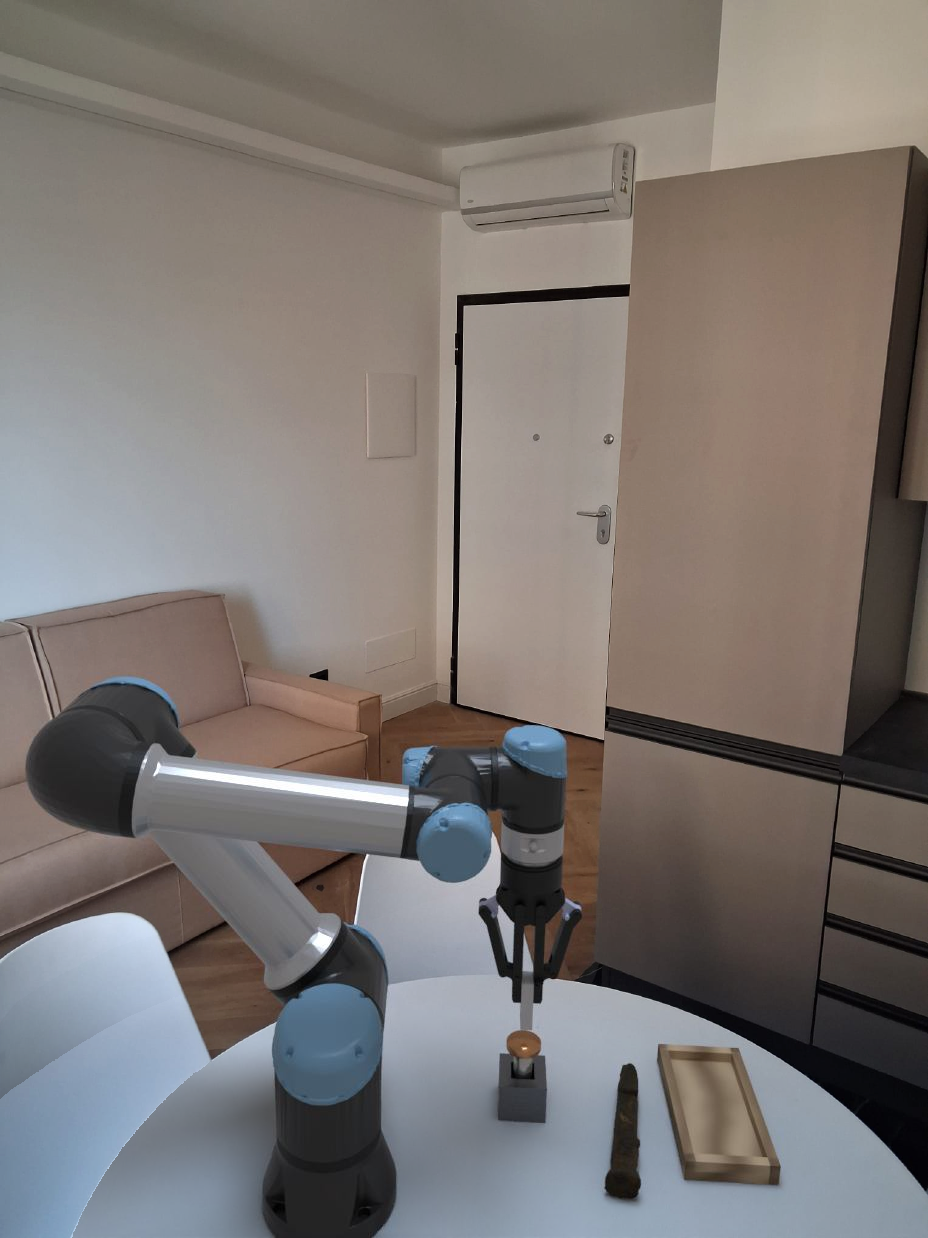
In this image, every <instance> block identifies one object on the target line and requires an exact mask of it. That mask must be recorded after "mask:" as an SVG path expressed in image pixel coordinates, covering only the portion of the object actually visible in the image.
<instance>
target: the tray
mask: <svg viewBox="0 0 928 1238" xmlns="http://www.w3.org/2000/svg"><path fill="white" fill-rule="evenodd" d="M656 1055H657V1056H656V1061H657V1066H658V1070H659V1074H660V1075H659V1077H660V1078H661V1083H662V1089H663V1093H664V1097H665V1102H666V1106H667V1110H668V1115H669V1119H670V1123H671V1129H672V1133H673V1137H674V1141H675V1145H676V1150H677V1156H678V1159H679V1164H680V1168H681V1172H682V1176H683V1180H685V1181H686V1180H687V1181H688V1180H689V1181H690V1180H691V1181H703V1182H704V1181H707V1182H719V1183H720V1182H724V1183H739V1184H740V1183H742V1184H755V1185H772V1186H773V1185H774V1186H775V1185H776V1186H779V1185H780V1176H781V1170H782V1169H781V1168H782V1166H781V1163H780V1159H779V1158H778V1155H777V1152H776V1149H775V1146H774V1143H773V1141H772V1138H771V1135H770V1133H769V1130H768V1126H767V1123H766V1120H765V1118H764V1116H763V1113H762V1109H761V1107H760V1104H759V1102H758V1099H757V1096H756V1092H755V1091H754V1088H753V1084H752V1081H751V1078H750V1076H749V1073H748V1071H747V1068H746V1065H745V1062H744V1059H743V1056H742V1053H741V1051H740V1047H726V1046H707V1045H705V1046H704V1045H690V1044H689V1045H686V1044H683V1045H682V1044H670V1043H669V1044H667V1043H658V1044H657V1054H656Z"/></svg>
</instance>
